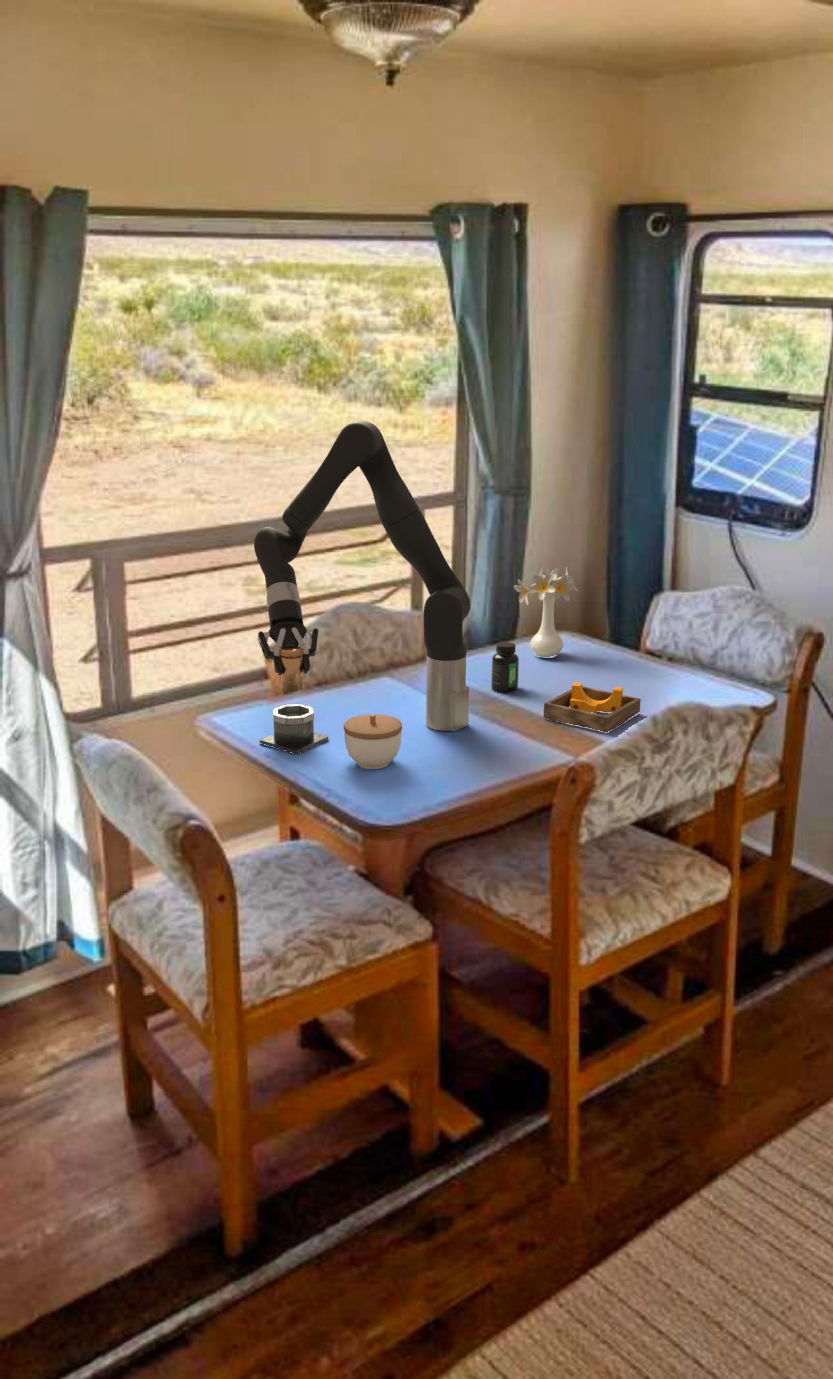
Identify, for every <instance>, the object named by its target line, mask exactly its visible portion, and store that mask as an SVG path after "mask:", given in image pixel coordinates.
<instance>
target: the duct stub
mask: <svg viewBox="0 0 833 1379" xmlns="http://www.w3.org/2000/svg"><path fill="white" fill-rule="evenodd" d="M314 712H315V711H314V707H312V706H309V705H304V704H297V703H296V704H283V705H281V706H278V707H275V708H273V709H272V717H273V718H272V720H273V733H272V734H270V735H268V736H265V737H262V738H261V739H259V744H260V743H262V744H266V745H269V746H273V747H275V748H279V749H281V750H280V751H282V750H286V751H287V752H286V753H289V752H292V753H294V754H293V755H295V754H297V755H299V754H301V753H303V751H304V752H305V750H306V751H308V750H310V749H312V748H314V747H318V746H320V745H321V744H324V743H326V742H329V736H328V735H325V734H322V733H318V732H315V725H314V723H315V722H314V721H315V720H314V719H315V713H314ZM262 744H261V745H262ZM275 748H274V749H275ZM300 752H301V753H300ZM292 753H291V754H292ZM298 753H299V754H298Z"/></svg>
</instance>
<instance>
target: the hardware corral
mask: <svg viewBox="0 0 833 1379" xmlns="http://www.w3.org/2000/svg"><path fill="white" fill-rule="evenodd" d="M582 688H583V690H584V692H585V694H586V695H587V696H588V697H589V698H591V699H593V700H597V701H602V700H606V699H608V698H609V697H610V696H611V695H612V693H613V691H612V692H610V691H606V690H602V689H599V688H598V689H597V688H592V687H586V686H583V685H582ZM571 698H572V688H571V689H569V690H567V691H565V692H563V693H561V694H560V695H557V696H555V697H553V698H551V699H549V700H548V701H546V702H545V703H543V704H544V705H543V718H546V719H549V720H552V721H551V722H554V721H558V722H561V723H560V724H562V722H563V723H569V724H573V725H579V726H582V727H588V728H592V729H595V730H600V731H603V732H608V731H610V730H612V729H614V728H616V727H617V726H619V725H621V724H622V723H624V722H625V721H627V720H628V719H629V718H631V717H632V716H634V715H635V714H637V713H638V712H640V713H641V703H642V702H641V699H642V698H638V697H635V696H629V695H624V694H623V695H622V707H621V708H619V709H617V710H615V711H614V712H612V713H610V714H606V715H605V714H601V713H597V714H595V713H591V712H587V711H582V710H578V709H574V708H569V706H570V699H571ZM613 708H615V709H616V707H613ZM549 720H548V721H549ZM558 722H557V723H558ZM624 724H625V723H624ZM621 726H622V725H621ZM616 729H617V728H616Z"/></svg>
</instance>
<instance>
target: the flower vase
mask: <svg viewBox="0 0 833 1379" xmlns="http://www.w3.org/2000/svg"><path fill="white" fill-rule="evenodd" d="M559 572H560V568H559V567H557V568H554V569H553V570H552V571H551V572H550V570H549V568H548V567H547V566H542V568H541V570H540V572H539V574H537V573H535V574H533V576H532V579H533V581H534V583H533V584H531V585H530V586H529V587H527V586H526V585H525V584H523V582H522V581H521V579H517V583H518V585H517V584H515V585H513V589H514V590H515V591H516V592H518V593H520V594H519V595H518V602H519V603H520V604H522V603H524V601H525V604H526V605H527V606H529V604H530V603H529V597H530V596H529V595H530V594H532V593H537V598H538V600H539V601H542V615H541V616H542V617H541V624H540V627H539V629H538V631H537V633H536V634H534V635H533V636H532V638H531V640H530V643H529V646H530V649H531V650H532V651H533V653H536V655H538V656H541V657H550V656H554V655H556V654H557V655H558V654H559V653H560V652H561V651H562V650H563V648H564V642H563V639H562V637H561V636H560V635H559V633H557V631H556V627H555V621H554V613H555V612H554V610H555V608H554V607H555V606H554V605H555V601H557V600H559V599H560V598H561V597H562V598H563V599H564V600H565V601H566V602H570V601H571V596H570V593H569V592H570V591H572V590H574V591H575V592H579V591H578V589H577V587H576V584H575V583H574V581H575V580H574V578H573V576H572V575H569V570H568V567H567V566H566V567H565V573H563V574H562V575H561V576H559V577H558V574H559ZM536 655H535V656H536Z"/></svg>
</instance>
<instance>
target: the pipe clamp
mask: <svg viewBox="0 0 833 1379" xmlns="http://www.w3.org/2000/svg"><path fill="white" fill-rule="evenodd" d="M582 686H583V683H582V682H573V683H572V685H571V689H572V698H571V699H570V708H574V709H578V710H582V711H587V712H593V713H596V712H597V711H603V712H614V711H615V710H617V709H619V708H621V707H622V695H624V694H623V692H624V687H622V686H614V688H613V689H612V695H611V696H610V697H609V698H608V699H606V700H602V701H597V700H593V699H591V698H589V697H588V696H587V695H586V694H585V692H584V690H583V688H582ZM613 707H616V709H615V708H613Z"/></svg>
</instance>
